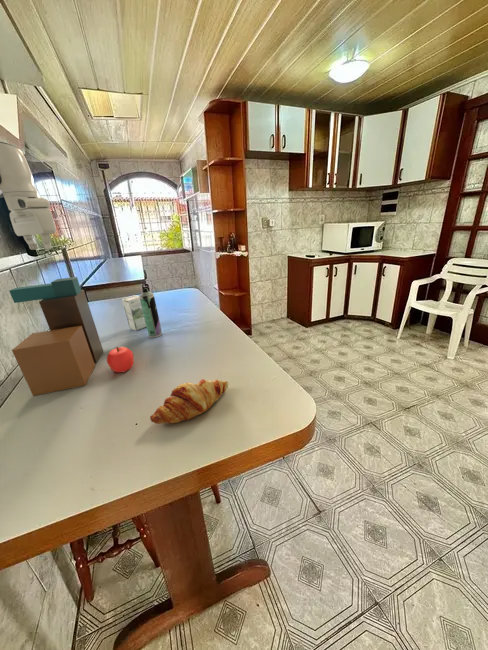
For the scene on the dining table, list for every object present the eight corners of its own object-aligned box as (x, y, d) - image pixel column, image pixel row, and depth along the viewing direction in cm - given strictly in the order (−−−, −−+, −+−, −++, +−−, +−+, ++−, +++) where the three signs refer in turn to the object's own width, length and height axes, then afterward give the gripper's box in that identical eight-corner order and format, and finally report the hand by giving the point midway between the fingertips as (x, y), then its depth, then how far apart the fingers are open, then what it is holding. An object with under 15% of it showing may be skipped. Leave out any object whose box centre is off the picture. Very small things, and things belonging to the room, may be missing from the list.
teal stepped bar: (13, 303, 82) (6, 287, 80) (21, 299, 87) (15, 284, 85) (77, 294, 86) (71, 279, 84) (81, 291, 90) (76, 276, 88)
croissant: (223, 394, 76) (213, 368, 76) (242, 394, 68) (230, 364, 68) (151, 433, 63) (139, 401, 64) (163, 438, 55) (150, 402, 55)
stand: (65, 369, 91) (38, 301, 82) (74, 355, 100) (51, 293, 91) (96, 363, 93) (74, 296, 84) (103, 350, 102) (83, 289, 93)
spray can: (163, 335, 111) (153, 288, 103) (150, 338, 108) (139, 291, 101) (160, 331, 115) (150, 285, 108) (147, 334, 113) (136, 288, 105)
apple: (126, 376, 83) (119, 353, 80) (104, 374, 85) (97, 352, 82) (141, 363, 90) (135, 341, 87) (120, 362, 92) (114, 341, 89)
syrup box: (140, 324, 125) (133, 294, 119) (147, 326, 121) (140, 296, 116) (129, 328, 121) (121, 298, 115) (136, 331, 117) (128, 299, 112)
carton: (32, 395, 77) (11, 350, 71) (49, 374, 88) (32, 333, 82) (85, 385, 80) (68, 340, 74) (95, 366, 91) (81, 325, 85)
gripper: (-2, 207, 86) (16, 251, 91) (28, 200, 76) (45, 250, 81) (21, 206, 91) (36, 248, 96) (51, 200, 81) (67, 247, 86)
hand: (41, 249), depth 89 cm, fingers open, 8 cm apart
